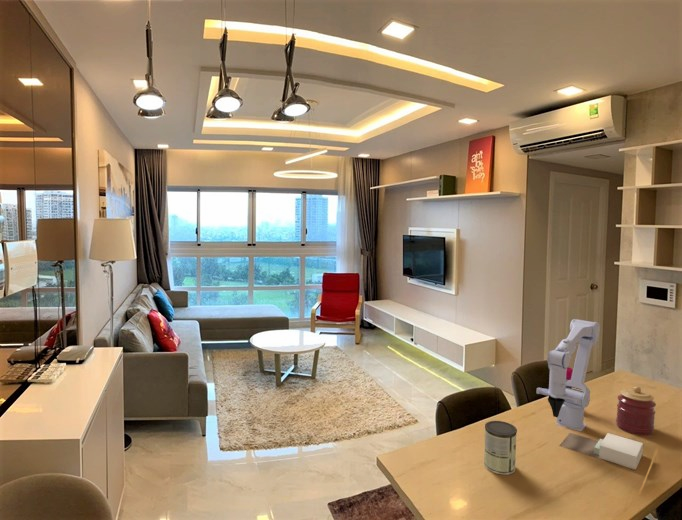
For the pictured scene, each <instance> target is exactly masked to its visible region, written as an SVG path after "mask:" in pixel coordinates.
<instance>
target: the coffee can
mask: <svg viewBox="0 0 682 520" xmlns="http://www.w3.org/2000/svg"><path fill="white" fill-rule="evenodd" d="M484 429H485V430H484V457H483V458H484V459H483V460H484V462H483V465H484V467H485V468H486V470H488V471H489V472H490V473H493V474H497V475H502V476H507V475H512V474H513V473H515V471H516V459H517V457H516V456H517V452H516V451H517V433H518V428H517V427H516V426H515V425H513V424H512V423H509V422H505V421H502V420H491V421H488V422H486V423H485V424H484Z"/></svg>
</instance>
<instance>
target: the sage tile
mask: <svg viewBox="0 0 682 520" xmlns="http://www.w3.org/2000/svg"><path fill="white" fill-rule="evenodd" d="M603 439H604V438H599V440H597V441H598V443H597V444H596V445H595V447H594V454H597V455H599V448H600V444H601V443H602V441H603Z"/></svg>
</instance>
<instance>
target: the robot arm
mask: <svg viewBox="0 0 682 520" xmlns="http://www.w3.org/2000/svg"><path fill="white" fill-rule="evenodd" d="M569 330H570V332H569V334H568V335H567V337H566V338H564V339H562V340H561V341H560V342H559V343H558V345H557V346H556V347H555V349H552V350H550V351H548V355H547V359H546V361H547V365H548V370H549V378H548V379H549V381H548V383H549V384H548V388H542V387H537V388H536V394H537V395H544V396H548V398H547V402H548V403H549V405H550V407H551V408H550V409H551V412H552V416H553V417H555V418H556V425H557V426H560V427H565V428H567V429H571V430H574V431H578V432H582V431H583V430H584V429H585V427H586V426H587V424H586V423H584V419H585V409H586V408H587V407H588V406H589V404H590V399H591V396H590V395H591V390H590V389H589V387H588V386H587V385H586V384H585V380H586V376H587V373H588V372H587V370H588V366H589V362H590V359H591V358H590V356H591V352H592V348H593V345H595V344H597V343H598V341H599V337H600V332H601V327H600V323H599V322H597V321H589V320H583V319H577V318H573V319H572V320H571V321H570V324H569ZM577 343H578V347H577V346H576V344H577ZM576 349H577V351H576ZM575 351H576V355H575V360H574V365H573V368H572V369H573V373H572V377H571V380H569V381H567V382H566V371H567V367H568V366H570V362H571V360H572V355H573V354H574V353H575Z"/></svg>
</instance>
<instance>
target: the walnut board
mask: <svg viewBox="0 0 682 520" xmlns="http://www.w3.org/2000/svg"><path fill="white" fill-rule="evenodd" d="M598 441H599V440H597V439H593V438H590V437H586V436H583V435H581V434H576V433H573V432H569V433H568V434H567V435H566V436H565V438H564V439H563V440H562V441H561V443H560V444H559V445H558V446H559V447H561V448H564V449H567V450H571V451H574V452H577V453H580V454H583V455H586V456H588V457H592V458H595V459H598V460H600V461H604V462H607V463H610V464H613V465H616V466H620V467H621V468H624V469H625V468H626V469H629V470H632V471H634V472H635V471H636V470H635V469H632V468H629V467H626V466H623V465H620V464H617V463H614V462H611V461H607V460H604V459H601V458H599V455H597V454H594V447H595V445H596V444H597V443H598ZM642 456H643V453H642ZM639 463H640V462H639ZM639 463H638V465H639Z"/></svg>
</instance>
